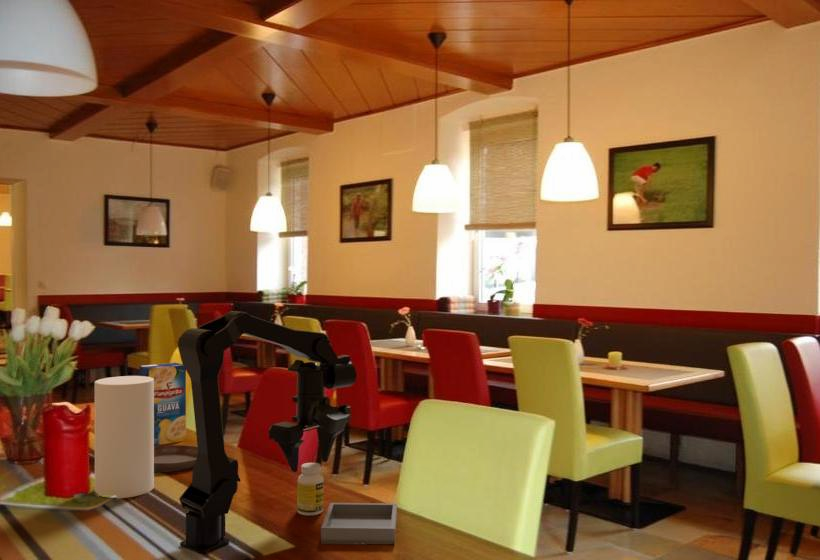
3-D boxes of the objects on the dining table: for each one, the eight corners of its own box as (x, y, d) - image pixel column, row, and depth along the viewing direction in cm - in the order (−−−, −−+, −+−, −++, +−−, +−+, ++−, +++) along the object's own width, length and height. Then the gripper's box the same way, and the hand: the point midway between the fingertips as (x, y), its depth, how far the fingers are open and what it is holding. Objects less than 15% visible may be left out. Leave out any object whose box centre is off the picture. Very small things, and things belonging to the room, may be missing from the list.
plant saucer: (203, 453, 193) (203, 441, 192) (209, 470, 176) (209, 458, 176) (133, 459, 186) (133, 447, 186) (133, 478, 170) (133, 465, 170)
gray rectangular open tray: (394, 544, 130) (394, 528, 130) (321, 543, 130) (321, 527, 130) (396, 518, 143) (396, 503, 143) (330, 517, 144) (330, 502, 144)
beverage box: (139, 442, 202) (139, 365, 202) (175, 436, 210) (175, 362, 209) (149, 446, 197) (149, 368, 197) (186, 440, 205) (186, 365, 204)
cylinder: (147, 497, 155) (147, 384, 154) (87, 499, 153) (87, 385, 153) (159, 480, 167) (158, 375, 167) (103, 482, 166) (103, 376, 165)
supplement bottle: (318, 517, 144) (318, 469, 143) (293, 515, 145) (293, 467, 145) (326, 508, 149) (327, 462, 149) (302, 506, 150) (302, 460, 150)
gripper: (308, 403, 134) (308, 485, 134) (369, 389, 149) (368, 463, 150) (267, 396, 140) (266, 474, 141) (329, 384, 156) (328, 454, 156)
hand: (310, 466), depth 147 cm, fingers open, 9 cm apart
